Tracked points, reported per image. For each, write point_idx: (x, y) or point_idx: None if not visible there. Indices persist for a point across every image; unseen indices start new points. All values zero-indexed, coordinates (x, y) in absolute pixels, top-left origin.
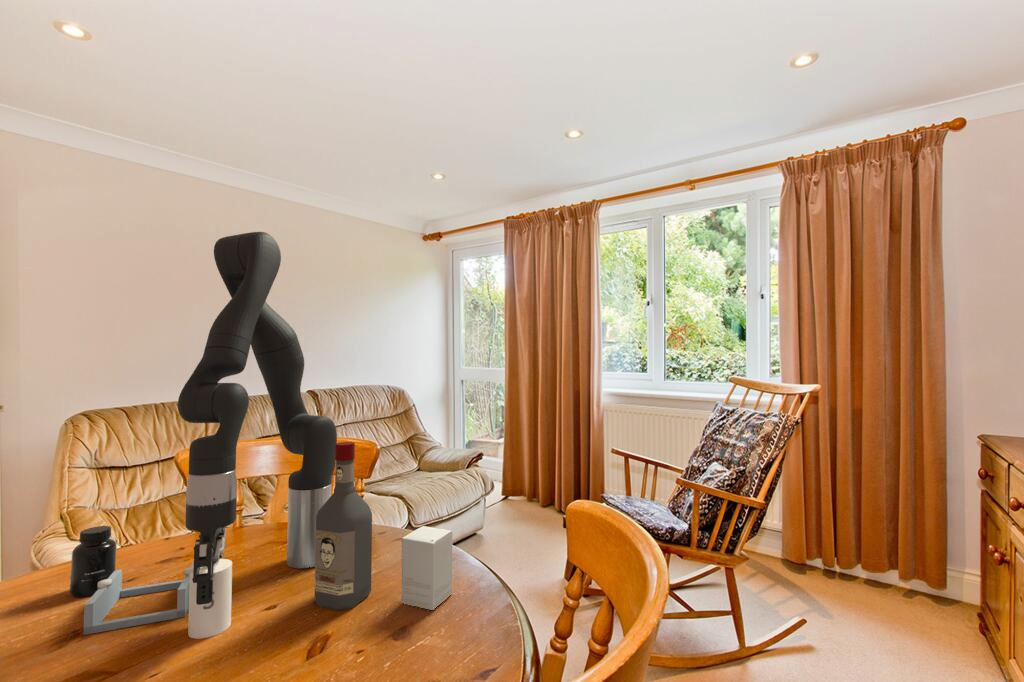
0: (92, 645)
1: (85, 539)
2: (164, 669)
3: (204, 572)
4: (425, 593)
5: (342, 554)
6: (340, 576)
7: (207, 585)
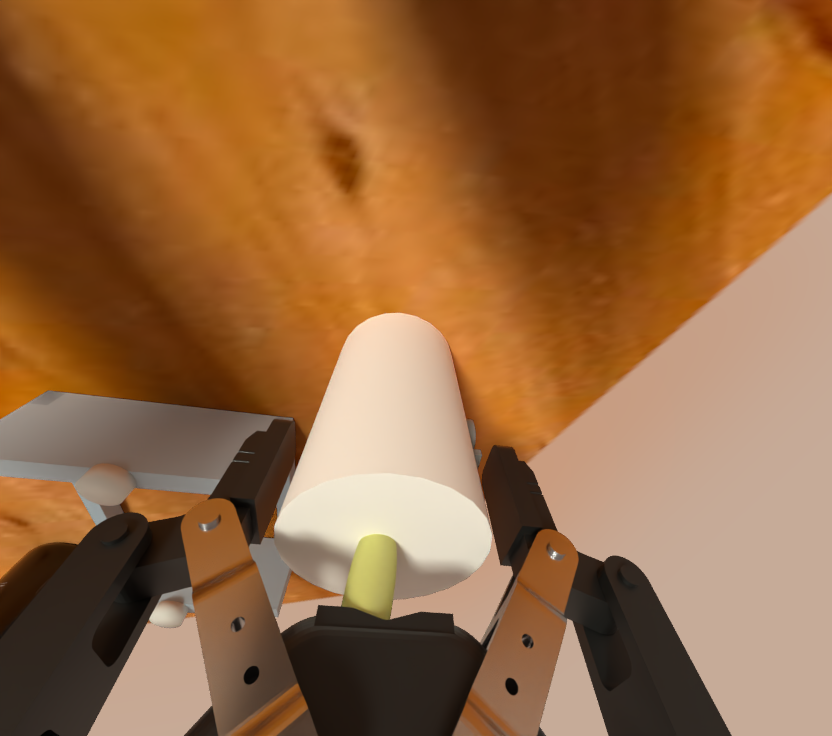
0: None
1: None
2: (538, 439)
3: (450, 564)
4: None
5: None
6: None
7: (554, 527)
